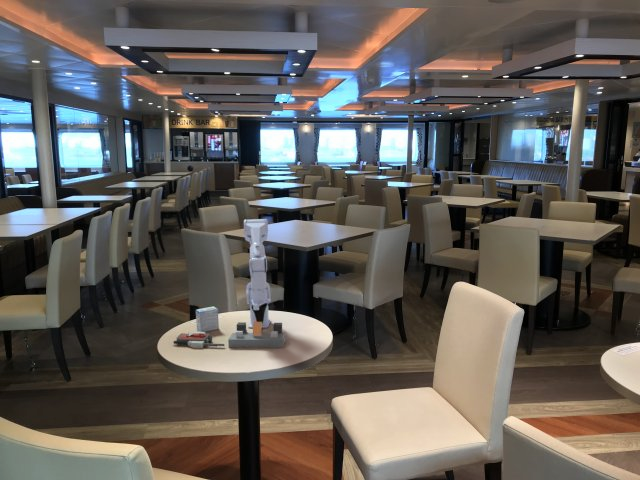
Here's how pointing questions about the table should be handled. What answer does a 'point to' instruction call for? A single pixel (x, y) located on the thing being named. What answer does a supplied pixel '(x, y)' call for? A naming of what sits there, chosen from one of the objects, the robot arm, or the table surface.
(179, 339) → the walkie-talkie
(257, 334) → the orange rectangular block
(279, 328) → the plug
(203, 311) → the medicine box
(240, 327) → the plug
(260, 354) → the table surface
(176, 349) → the table surface
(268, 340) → the power strip
